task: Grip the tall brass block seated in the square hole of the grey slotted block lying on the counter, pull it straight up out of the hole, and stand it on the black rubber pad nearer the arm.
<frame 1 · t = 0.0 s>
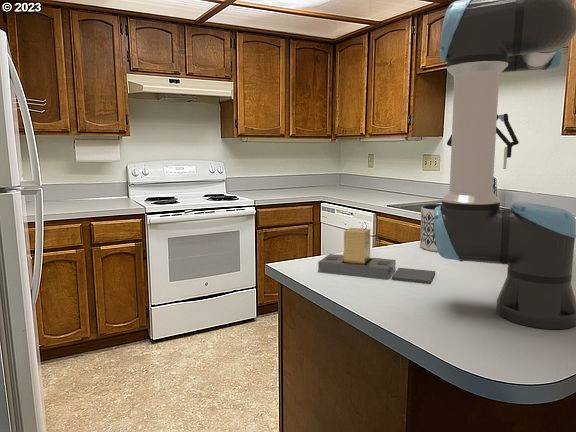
hand: (480, 168, 140), 28 cm above the counter, fingers open, 13 cm apart
potato: (356, 253, 151), on the counter
grey slotted block: (357, 270, 130), on the counter
pad: (413, 276, 123), on the counter
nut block: (357, 271, 130), resting in grey slotted block
planter: (443, 248, 156), on the counter
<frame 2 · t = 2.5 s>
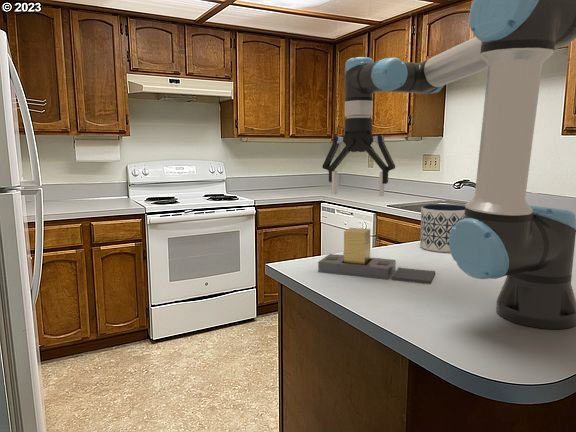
hand: (357, 194, 126), 22 cm above the counter, fingers open, 13 cm apart
nothing on the counter moved.
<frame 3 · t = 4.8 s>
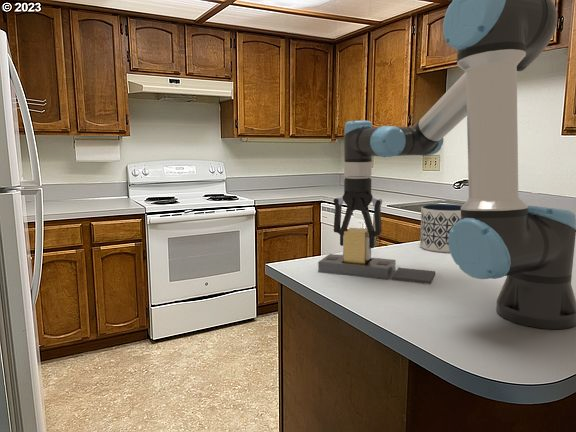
hand: (357, 257, 129), 4 cm above the counter, fingers closed on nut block, 6 cm apart
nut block: (356, 270, 130), resting in grey slotted block, touching gripper
everything else where it was.
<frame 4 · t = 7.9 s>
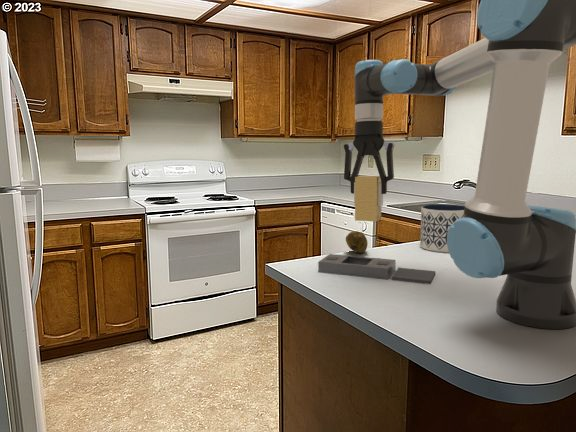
hand: (368, 205, 125), 19 cm above the counter, fingers closed on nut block, 6 cm apart
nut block: (368, 219, 126), point 15 cm above the counter, touching gripper
everything else where it was.
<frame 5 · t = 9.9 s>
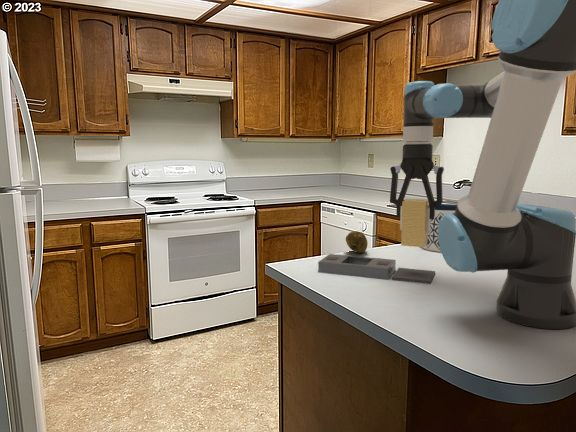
hand: (414, 230, 121), 13 cm above the counter, fingers closed on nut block, 6 cm apart
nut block: (414, 244, 122), point 9 cm above the counter, touching gripper
everything else where it was.
when the fingers open (6 cm above the counter, at t = 11.4 s): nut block drops 2 cm, resting on pad.
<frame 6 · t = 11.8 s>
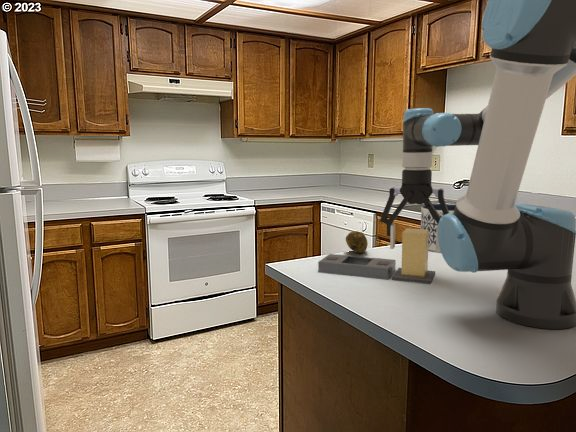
hand: (414, 249, 122), 8 cm above the counter, fingers open, 11 cm apart
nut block: (414, 274, 123), point 1 cm above the counter, touching pad
everything else where it was.
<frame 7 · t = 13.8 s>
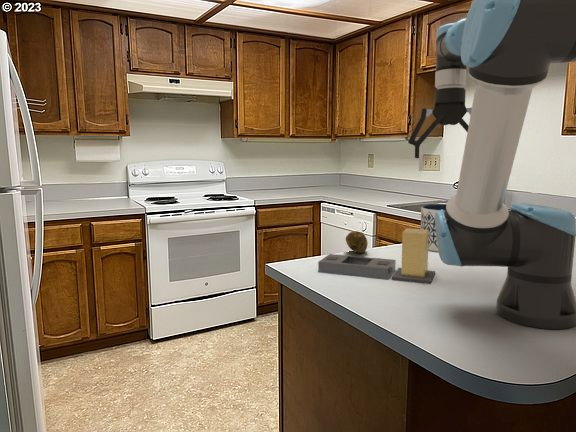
hand: (447, 171, 119), 29 cm above the counter, fingers open, 13 cm apart
nothing on the counter moved.
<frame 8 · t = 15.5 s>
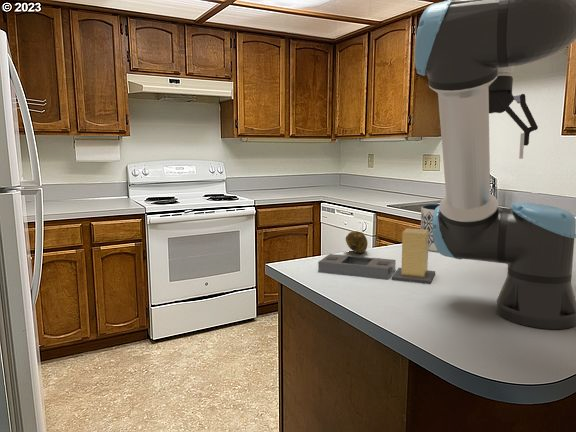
hand: (492, 158, 121), 32 cm above the counter, fingers open, 13 cm apart
nothing on the counter moved.
at the end: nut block inside the target area on the pad (0.2 cm from its centre), point 0.8 cm above the pad's base; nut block tilted 0°; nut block touching pad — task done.
